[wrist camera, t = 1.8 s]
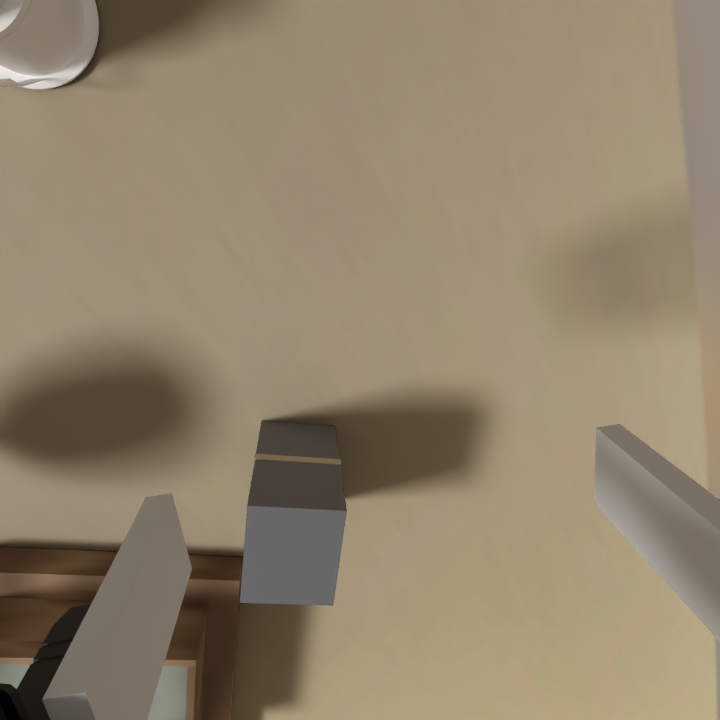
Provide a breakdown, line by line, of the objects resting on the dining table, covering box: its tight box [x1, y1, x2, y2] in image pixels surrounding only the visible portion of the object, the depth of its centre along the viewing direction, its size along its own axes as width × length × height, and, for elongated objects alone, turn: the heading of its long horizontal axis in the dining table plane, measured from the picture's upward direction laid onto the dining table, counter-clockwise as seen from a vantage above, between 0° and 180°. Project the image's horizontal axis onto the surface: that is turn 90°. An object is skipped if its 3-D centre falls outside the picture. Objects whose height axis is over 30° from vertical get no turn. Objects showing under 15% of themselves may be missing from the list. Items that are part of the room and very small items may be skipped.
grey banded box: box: [240, 421, 347, 606], centre depth 33 cm, size 5×6×10 cm
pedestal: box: [0, 547, 243, 720], centre depth 37 cm, size 18×18×7 cm
